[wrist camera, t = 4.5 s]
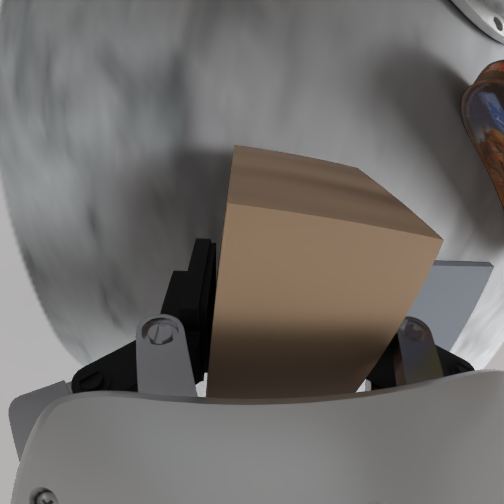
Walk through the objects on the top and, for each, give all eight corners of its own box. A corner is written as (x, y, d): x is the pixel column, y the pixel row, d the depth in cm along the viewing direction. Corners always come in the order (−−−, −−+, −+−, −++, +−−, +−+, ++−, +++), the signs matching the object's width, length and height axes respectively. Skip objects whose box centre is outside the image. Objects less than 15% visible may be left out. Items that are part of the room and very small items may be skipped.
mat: (334, 257, 15) (338, 263, 14) (489, 262, 16) (494, 266, 15) (300, 377, 20) (302, 383, 19) (438, 359, 21) (441, 364, 20)
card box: (234, 145, 9) (226, 207, 5) (357, 168, 10) (448, 244, 5) (210, 335, 14) (202, 441, 9) (299, 342, 14) (318, 442, 10)
